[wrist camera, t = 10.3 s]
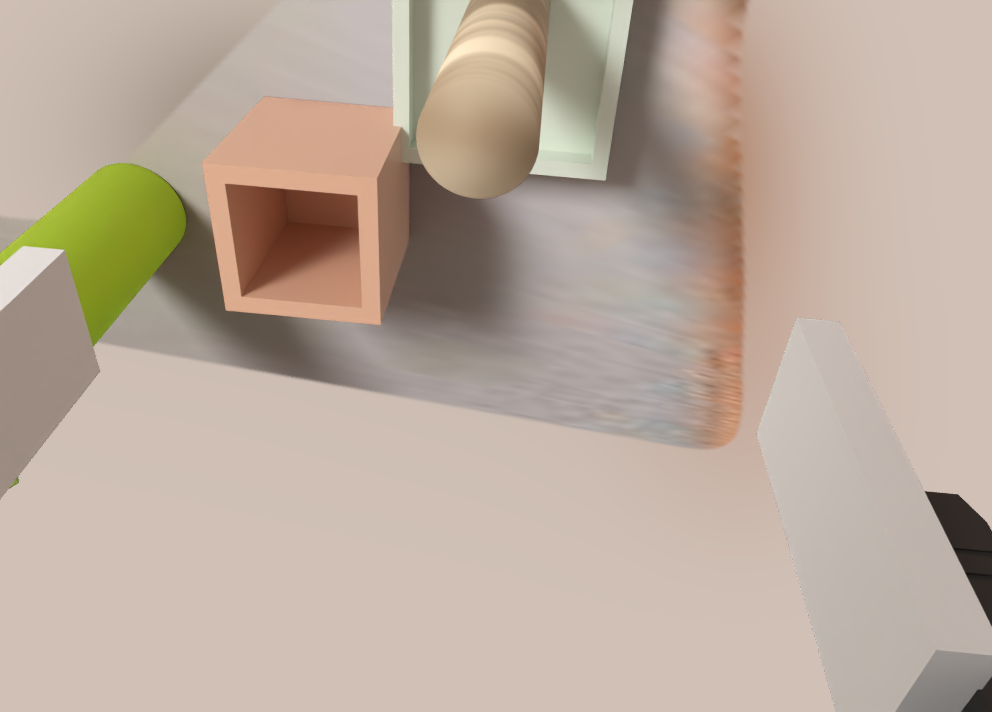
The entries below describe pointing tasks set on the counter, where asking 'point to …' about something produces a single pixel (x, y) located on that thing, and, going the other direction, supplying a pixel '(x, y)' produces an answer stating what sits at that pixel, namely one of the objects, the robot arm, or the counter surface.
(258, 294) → the pot
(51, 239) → the soap dispenser
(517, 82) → the dowel
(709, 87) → the counter surface
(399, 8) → the tray
